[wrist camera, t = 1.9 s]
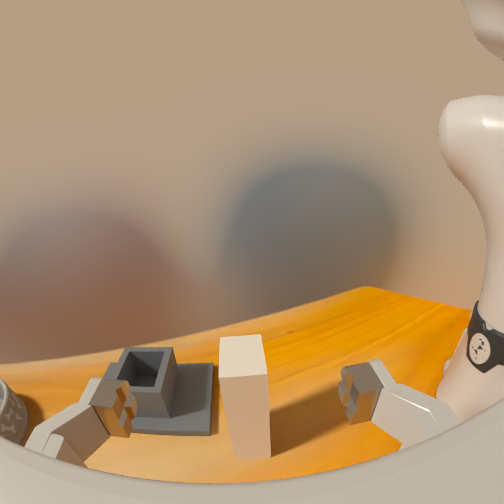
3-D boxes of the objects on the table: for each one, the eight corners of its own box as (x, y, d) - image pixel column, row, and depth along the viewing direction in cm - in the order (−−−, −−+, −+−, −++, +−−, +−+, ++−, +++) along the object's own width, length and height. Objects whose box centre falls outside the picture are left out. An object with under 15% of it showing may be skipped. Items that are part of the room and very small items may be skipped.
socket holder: (213, 367, 43) (208, 337, 41) (210, 435, 30) (201, 406, 28) (112, 367, 42) (101, 338, 40) (85, 425, 29) (67, 396, 27)
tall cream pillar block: (265, 420, 32) (260, 334, 28) (271, 457, 26) (267, 373, 22) (234, 423, 32) (220, 337, 27) (235, 460, 26) (218, 377, 22)
